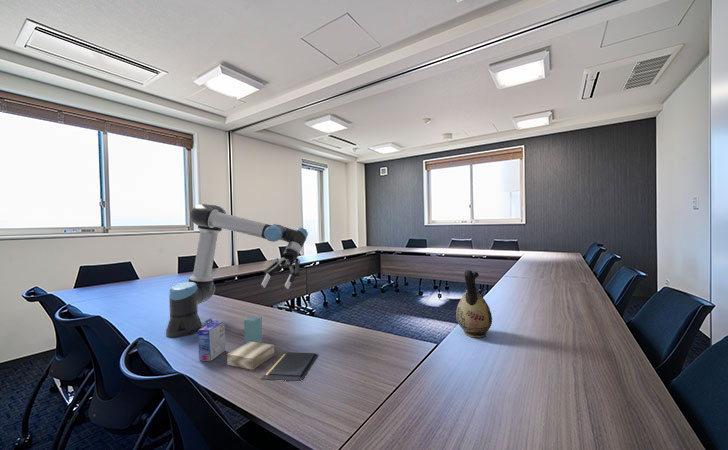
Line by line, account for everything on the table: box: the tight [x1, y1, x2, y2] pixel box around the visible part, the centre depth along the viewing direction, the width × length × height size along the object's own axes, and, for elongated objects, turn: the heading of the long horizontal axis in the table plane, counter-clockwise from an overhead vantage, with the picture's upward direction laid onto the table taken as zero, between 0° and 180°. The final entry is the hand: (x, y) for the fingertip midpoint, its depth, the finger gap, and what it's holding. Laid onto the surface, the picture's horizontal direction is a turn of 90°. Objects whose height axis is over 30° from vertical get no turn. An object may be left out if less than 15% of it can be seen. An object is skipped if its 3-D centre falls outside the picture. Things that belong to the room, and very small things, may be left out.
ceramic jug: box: [455, 269, 493, 338], centre depth 128 cm, size 17×15×30 cm
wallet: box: [260, 351, 319, 382], centre depth 103 cm, size 20×2×15 cm
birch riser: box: [226, 341, 275, 370], centre depth 108 cm, size 12×12×4 cm
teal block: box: [243, 315, 263, 344], centre depth 120 cm, size 5×5×12 cm
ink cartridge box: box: [197, 318, 227, 362], centre depth 113 cm, size 10×6×14 cm, turn 174°
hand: (274, 286), depth 134 cm, fingers open, 13 cm apart
